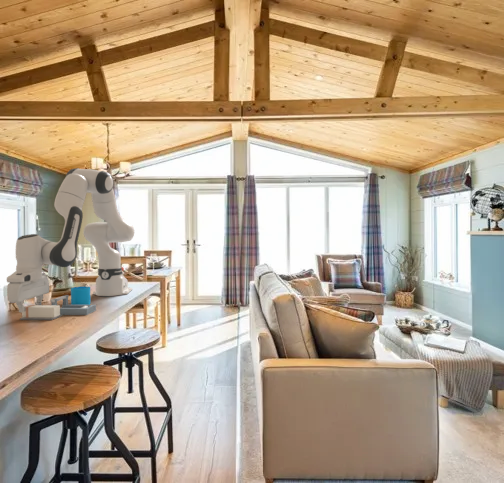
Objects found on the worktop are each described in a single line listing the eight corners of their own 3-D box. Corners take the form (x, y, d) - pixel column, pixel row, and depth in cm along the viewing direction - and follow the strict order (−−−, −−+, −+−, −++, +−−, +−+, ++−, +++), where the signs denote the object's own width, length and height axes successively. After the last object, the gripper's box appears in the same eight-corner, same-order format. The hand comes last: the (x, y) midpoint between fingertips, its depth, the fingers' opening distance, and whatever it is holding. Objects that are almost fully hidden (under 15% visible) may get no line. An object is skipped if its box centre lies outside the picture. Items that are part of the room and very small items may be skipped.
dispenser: (50, 315, 146) (50, 300, 146) (65, 309, 156) (65, 295, 156) (85, 315, 145) (84, 300, 145) (97, 309, 156) (97, 295, 155)
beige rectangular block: (22, 317, 141) (21, 307, 140) (29, 314, 145) (28, 304, 144) (54, 317, 140) (53, 307, 140) (60, 315, 144) (59, 305, 144)
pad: (31, 315, 146) (31, 313, 146) (62, 315, 145) (62, 314, 145) (19, 319, 139) (19, 318, 139) (52, 320, 138) (51, 318, 138)
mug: (86, 307, 161) (86, 289, 161) (68, 307, 161) (67, 289, 160) (96, 301, 173) (96, 284, 173) (79, 301, 173) (78, 285, 172)
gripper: (38, 271, 152) (39, 303, 153) (3, 278, 132) (4, 315, 133) (53, 271, 152) (53, 303, 153) (19, 278, 132) (20, 315, 132)
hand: (30, 309), depth 143 cm, fingers open, 8 cm apart
